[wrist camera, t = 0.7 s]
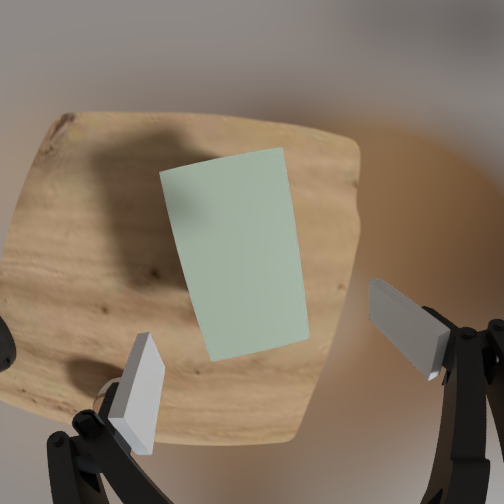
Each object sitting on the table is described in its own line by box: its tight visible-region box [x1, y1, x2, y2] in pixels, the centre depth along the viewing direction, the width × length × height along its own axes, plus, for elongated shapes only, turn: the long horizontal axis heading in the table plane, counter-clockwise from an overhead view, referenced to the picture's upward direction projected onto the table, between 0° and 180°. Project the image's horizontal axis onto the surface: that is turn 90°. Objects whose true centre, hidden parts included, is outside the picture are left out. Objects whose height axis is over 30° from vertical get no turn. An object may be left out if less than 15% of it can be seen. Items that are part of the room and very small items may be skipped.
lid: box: [159, 147, 310, 362], centre depth 28 cm, size 20×11×4 cm, turn 10°
